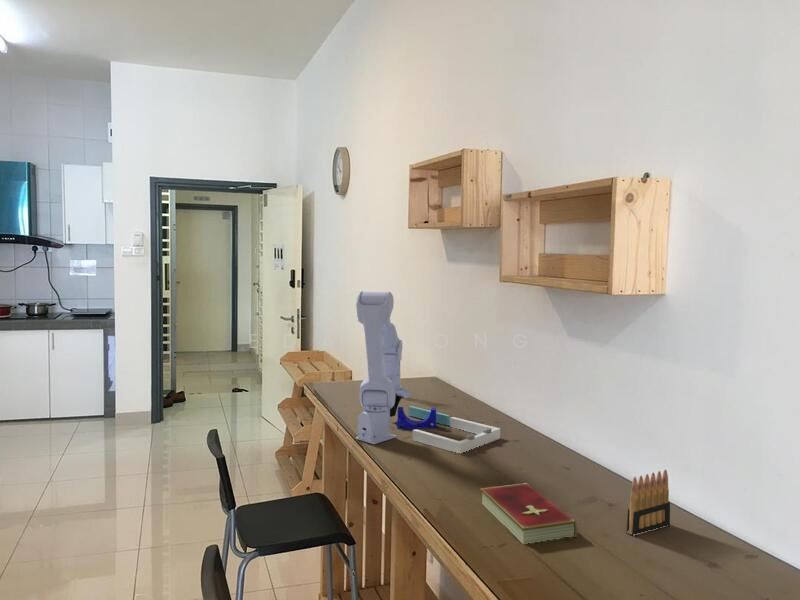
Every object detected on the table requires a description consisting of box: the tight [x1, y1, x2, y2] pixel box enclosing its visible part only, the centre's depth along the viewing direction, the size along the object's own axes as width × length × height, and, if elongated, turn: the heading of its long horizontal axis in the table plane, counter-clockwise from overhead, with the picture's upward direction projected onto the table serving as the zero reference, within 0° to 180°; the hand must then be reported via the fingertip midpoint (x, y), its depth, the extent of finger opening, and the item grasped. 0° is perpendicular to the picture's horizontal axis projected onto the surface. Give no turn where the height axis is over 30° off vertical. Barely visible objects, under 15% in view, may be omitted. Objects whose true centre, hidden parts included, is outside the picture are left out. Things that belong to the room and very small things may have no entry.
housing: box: [412, 416, 501, 455], centre depth 194 cm, size 19×18×4 cm
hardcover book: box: [479, 482, 578, 545], centre depth 140 cm, size 12×21×4 cm, turn 16°
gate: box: [407, 405, 451, 426], centre depth 213 cm, size 17×1×3 cm, turn 46°
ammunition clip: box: [626, 469, 671, 534], centre depth 135 cm, size 11×2×12 cm, turn 118°
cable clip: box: [396, 406, 437, 430], centre depth 206 cm, size 12×4×6 cm, turn 85°
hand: (391, 415), depth 213 cm, fingers closed
